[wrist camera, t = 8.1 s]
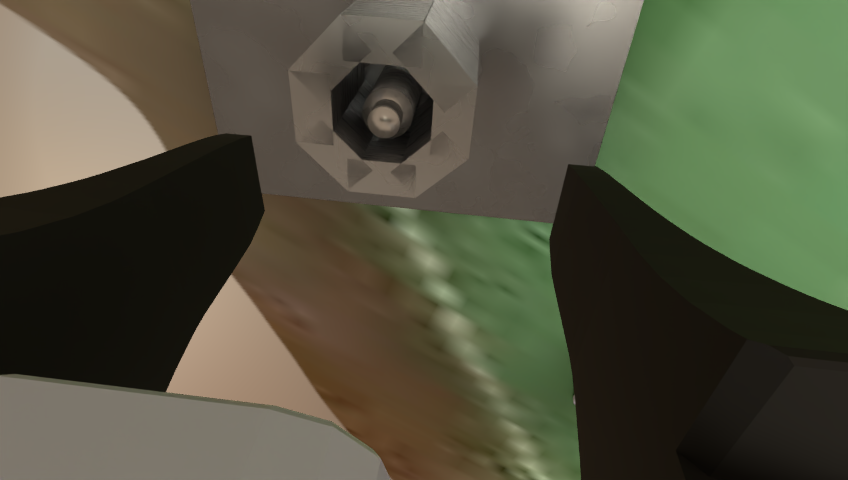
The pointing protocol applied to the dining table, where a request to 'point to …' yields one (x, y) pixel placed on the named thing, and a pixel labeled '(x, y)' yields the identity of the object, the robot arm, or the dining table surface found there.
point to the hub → (348, 88)
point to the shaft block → (400, 95)
